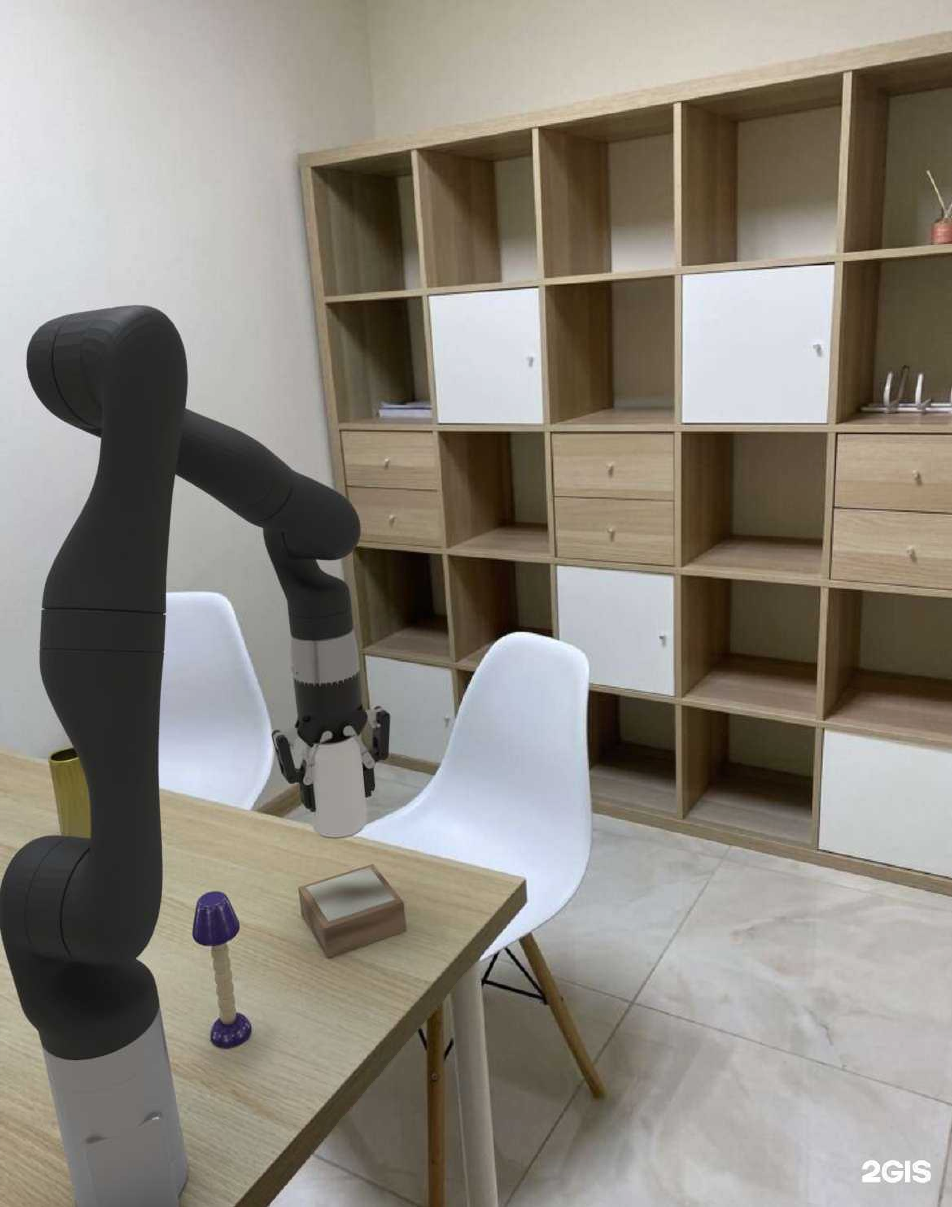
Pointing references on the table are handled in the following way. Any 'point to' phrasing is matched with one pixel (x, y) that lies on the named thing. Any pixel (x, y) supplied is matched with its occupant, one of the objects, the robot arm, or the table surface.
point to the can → (338, 788)
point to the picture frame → (351, 910)
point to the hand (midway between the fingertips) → (339, 801)
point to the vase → (70, 793)
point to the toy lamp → (221, 965)
